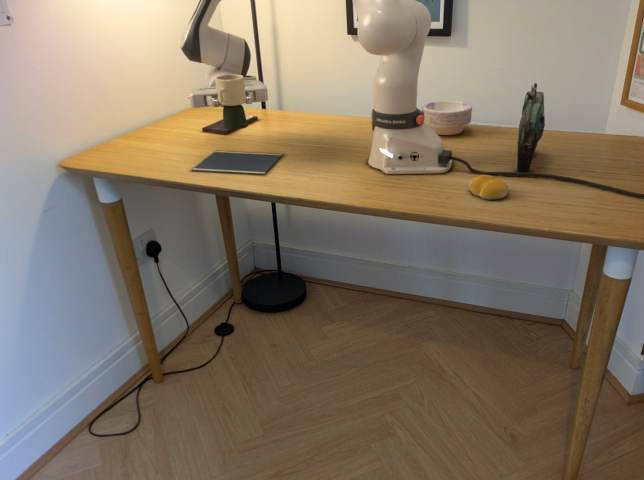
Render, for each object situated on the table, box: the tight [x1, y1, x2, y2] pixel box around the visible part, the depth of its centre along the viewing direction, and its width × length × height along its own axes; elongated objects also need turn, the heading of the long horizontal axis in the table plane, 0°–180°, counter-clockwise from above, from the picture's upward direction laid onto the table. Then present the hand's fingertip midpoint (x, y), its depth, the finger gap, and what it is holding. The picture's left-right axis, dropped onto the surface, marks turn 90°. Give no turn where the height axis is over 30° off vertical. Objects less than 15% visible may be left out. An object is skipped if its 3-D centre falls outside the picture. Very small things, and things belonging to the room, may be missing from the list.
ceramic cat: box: [516, 82, 546, 173], centre depth 145 cm, size 20×6×20 cm, turn 162°
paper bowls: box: [421, 100, 473, 136], centre depth 173 cm, size 15×15×8 cm
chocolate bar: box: [201, 114, 259, 135], centre depth 184 cm, size 9×1×18 cm
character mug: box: [215, 74, 248, 131], centre depth 144 cm, size 11×7×13 cm, turn 163°
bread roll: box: [468, 174, 509, 200], centre depth 132 cm, size 8×9×4 cm
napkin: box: [191, 150, 284, 176], centre depth 153 cm, size 20×16×1 cm
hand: (232, 102), depth 143 cm, fingers closed on character mug, 7 cm apart
